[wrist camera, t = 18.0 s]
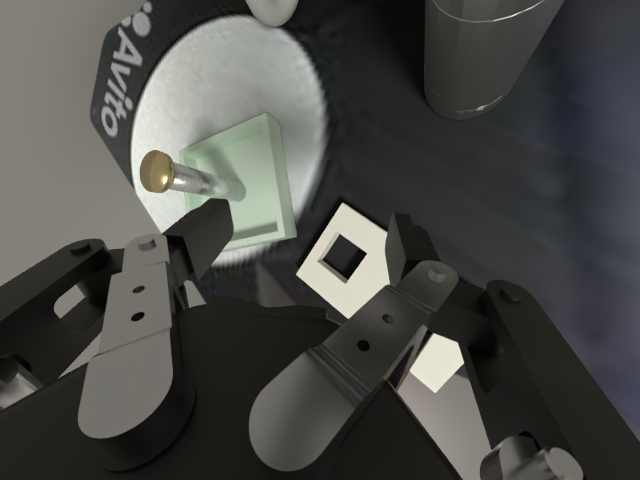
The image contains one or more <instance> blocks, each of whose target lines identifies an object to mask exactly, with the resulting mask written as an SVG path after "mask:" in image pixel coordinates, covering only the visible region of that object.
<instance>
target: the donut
mask: <svg viewBox="0 0 640 480" xmlns="http://www.w3.org/2000/svg"><path fill="white" fill-rule="evenodd" d="M298 1H299V0H246V3H247V4H248V6H249V8H250V10H251V11H252V13H253V15H254V16H255V17H256V18H257V19H258V20H259V21H260V22H261V23H263V24H265V25H268V26H271V27H277V26H281V25H283V24H284V23H286V22H287V21H288V20H289V19H290V18H291V16H292V15H293V13H294V11H295V10H296V7H297V4H298Z"/></svg>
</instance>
